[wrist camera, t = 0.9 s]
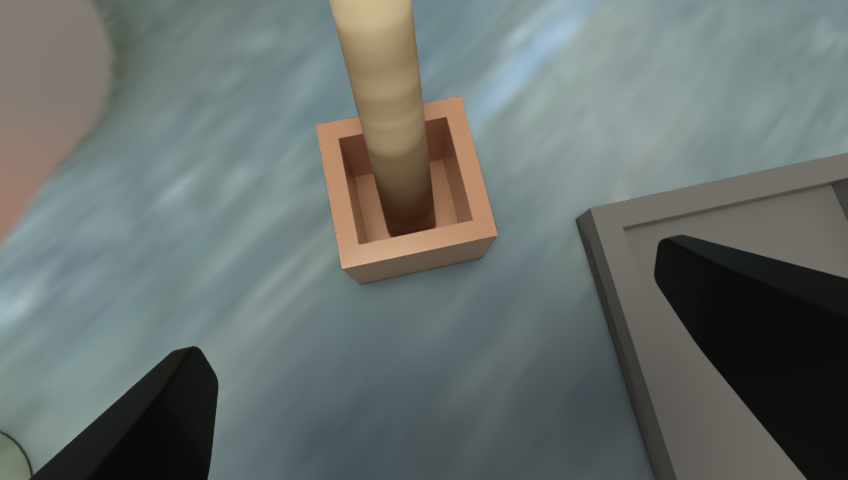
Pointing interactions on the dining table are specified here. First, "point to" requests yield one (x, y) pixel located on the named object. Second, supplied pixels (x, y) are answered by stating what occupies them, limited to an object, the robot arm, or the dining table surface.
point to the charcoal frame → (664, 332)
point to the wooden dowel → (389, 106)
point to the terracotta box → (452, 193)
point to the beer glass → (12, 461)
